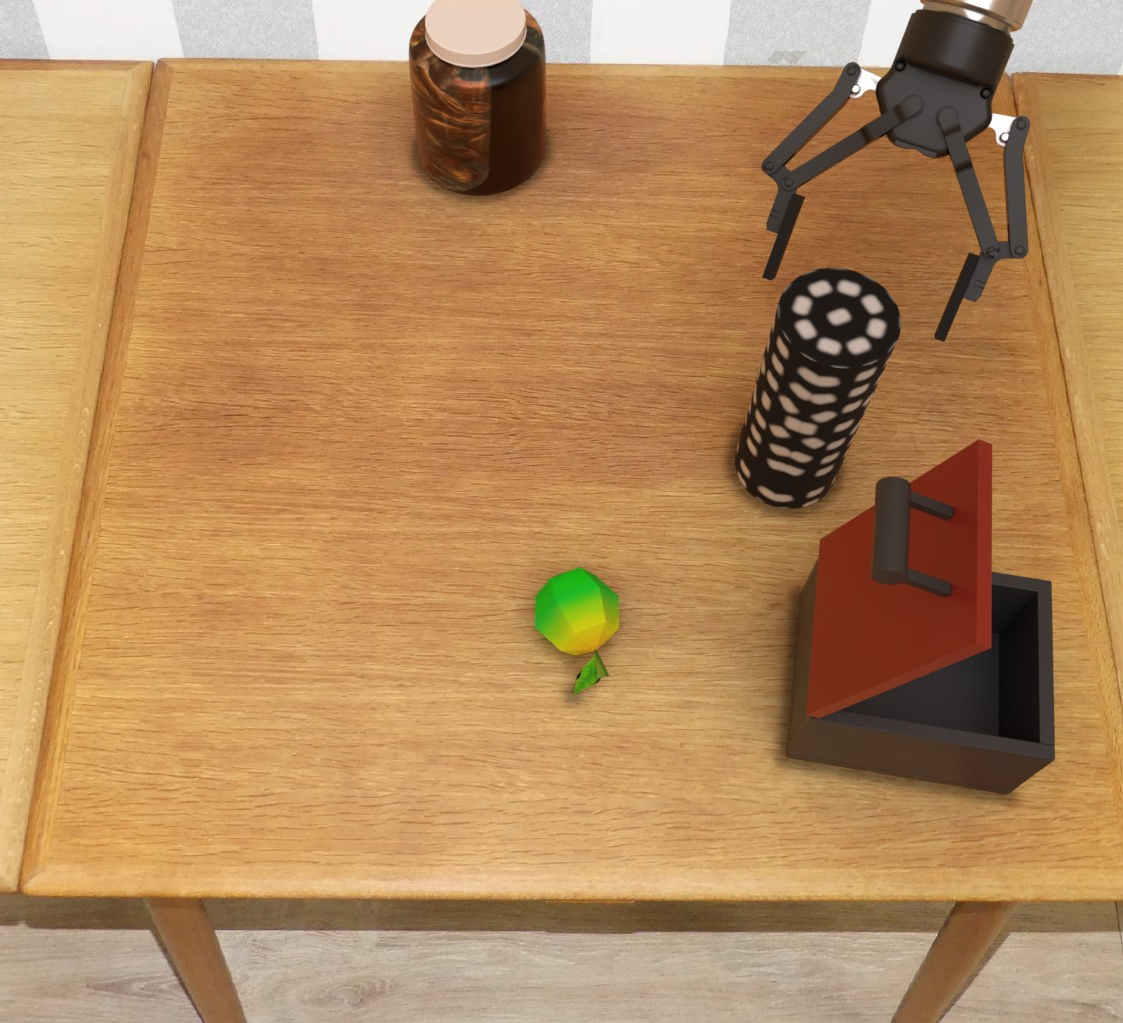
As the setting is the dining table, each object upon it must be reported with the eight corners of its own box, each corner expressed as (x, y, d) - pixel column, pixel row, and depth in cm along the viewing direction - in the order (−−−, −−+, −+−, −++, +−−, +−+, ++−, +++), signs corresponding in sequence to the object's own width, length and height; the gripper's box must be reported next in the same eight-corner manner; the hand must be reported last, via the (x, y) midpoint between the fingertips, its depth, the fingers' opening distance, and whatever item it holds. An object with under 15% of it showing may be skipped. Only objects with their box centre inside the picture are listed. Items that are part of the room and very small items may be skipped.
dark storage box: (1007, 628, 94) (1051, 580, 86) (1008, 794, 88) (1055, 760, 80) (799, 595, 95) (823, 544, 87) (785, 757, 89) (810, 719, 81)
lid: (992, 444, 72) (907, 410, 70) (991, 648, 66) (899, 616, 64) (831, 543, 86) (757, 517, 85) (819, 718, 80) (739, 694, 79)
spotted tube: (765, 523, 97) (816, 385, 80) (716, 441, 101) (755, 291, 83) (855, 486, 99) (924, 343, 81) (804, 406, 102) (860, 252, 85)
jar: (516, 212, 112) (514, 86, 98) (399, 175, 113) (381, 47, 100) (562, 123, 117) (566, -9, 103) (449, 89, 118) (439, -44, 105)
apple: (556, 548, 88) (609, 655, 84) (613, 549, 92) (666, 651, 89) (498, 602, 92) (547, 707, 88) (556, 601, 96) (605, 701, 92)
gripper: (1133, 79, 88) (1009, 357, 94) (803, -22, 92) (707, 251, 99) (1151, 70, 81) (1016, 371, 87) (793, -39, 85) (691, 256, 92)
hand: (852, 308), depth 93 cm, fingers open, 13 cm apart
